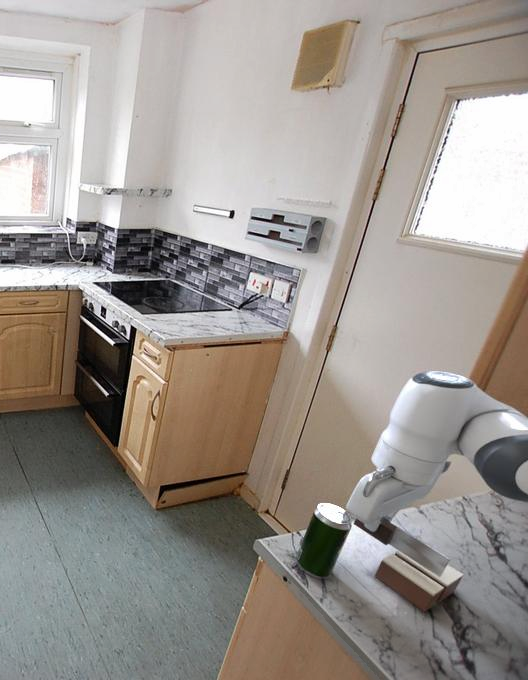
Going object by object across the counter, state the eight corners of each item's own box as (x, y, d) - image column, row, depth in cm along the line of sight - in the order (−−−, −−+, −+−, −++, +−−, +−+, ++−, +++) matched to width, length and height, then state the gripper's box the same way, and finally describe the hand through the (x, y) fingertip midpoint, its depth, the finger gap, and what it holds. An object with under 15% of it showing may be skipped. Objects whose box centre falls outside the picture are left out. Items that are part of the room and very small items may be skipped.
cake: (453, 592, 78) (463, 574, 77) (437, 603, 76) (447, 585, 74) (404, 559, 84) (412, 542, 83) (387, 568, 82) (396, 551, 81)
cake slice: (434, 605, 75) (444, 587, 74) (424, 612, 74) (434, 594, 72) (384, 570, 81) (392, 553, 80) (374, 576, 80) (382, 558, 79)
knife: (443, 575, 75) (453, 557, 74) (436, 579, 74) (446, 561, 73) (360, 521, 86) (367, 504, 84) (353, 524, 85) (360, 507, 84)
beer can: (297, 573, 79) (320, 518, 75) (292, 551, 84) (313, 498, 80) (333, 585, 77) (358, 529, 73) (326, 561, 82) (348, 508, 78)
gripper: (394, 486, 70) (362, 555, 75) (456, 460, 79) (424, 523, 84) (351, 463, 76) (324, 528, 81) (414, 441, 85) (386, 501, 89)
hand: (376, 525), depth 82 cm, fingers closed on knife, 2 cm apart
